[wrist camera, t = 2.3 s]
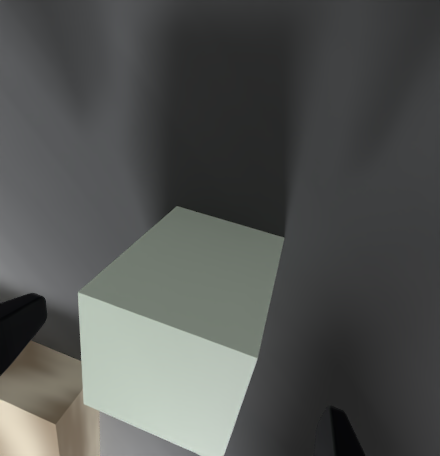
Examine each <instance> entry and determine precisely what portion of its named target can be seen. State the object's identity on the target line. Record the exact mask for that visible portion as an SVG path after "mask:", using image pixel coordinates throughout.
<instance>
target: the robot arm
mask: <svg viewBox="0 0 440 456" xmlns="http://www.w3.org/2000/svg"><path fill="white" fill-rule="evenodd" d="M46 319H47V308H46V300H45V298H44V297H43V296H40V295H38V294H35V293H30V294H27V295H24V296H21V297H17V298H14V299H11V300H8V301H5V302H2V303H0V376H1V375H2V374H3V373H4V372H5V371H6V370H7V369H8V368H9V366H10V365H11V364H12V363H13V362H14V361H15V359H16V358H17V357H18V356H19V354H20V353H21V352H22V351H23V349H24V348H25V347H26V346H27V344H28V343H29V342H30V341H31V339H32V338H33V337H34V336H35V334H36V333H37V332H38V330H39V329H40V328H41V327H42V325H43V324H44V323H45V321H46ZM314 456H365V454H364V451H363V449H362V447H361V445H360V443H359V441H358V439H357V437H356V434H355V432H354V430H353V428H352V426H351V424H350V422H349V420H348V418H347V415H346V414H345V412H344V411H343V410H341V409H338V408H335V407H333V406H328V407H327V408H326V410H325V412H324V413H323V415H322V417H321V419H320V420H319V422H318V425H317V430H316V438H315V448H314Z"/></svg>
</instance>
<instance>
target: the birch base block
mask: <svg viewBox="0 0 440 456" xmlns="http://www.w3.org/2000/svg"><path fill="white" fill-rule="evenodd" d="M0 456H100V430H99V411H98V410H96V409H94V408H92V407H89V406H87V405H85V404H84V402H83V382H82V363H81V361H79V360H77V359H75V358H72V357H70V356H67V355H65V354H62V353H60V352H58V351H55V350H53V349H50V348H48V347H45V346H43V345H41V344H38V343H36V342H33V341H30V342H29V343H28V344H27V346H26V347H25V348H24V349H23V351H22V352H21V353H20V354H19V356H18V357H17V358H16V359H15V361H14V362H13V363H12V364H11V365H10V366H9V368H8V369H7V370H6V371H5V372H4V373H3V374H2V375H1V376H0Z"/></svg>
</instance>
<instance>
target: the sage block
mask: <svg viewBox="0 0 440 456" xmlns="http://www.w3.org/2000/svg"><path fill="white" fill-rule="evenodd" d="M283 242H284V237H280V236H277V235H273V234H270V233H267V232H263V231H260V230H256V229H253V228H250V227H246V226H243V225H240V224H236V223H233V222H229V221H226V220H223V219H219V218H216V217H212V216H209V215H206V214H202V213H199V212H195V211H192V210H189V209H185V208H182V207H178V206H176V207H175V208H174V209H173V210H172V211H171V212H170V213H168V214H167V215H166V216H165V217H164V218H163V219H161V220H160V221H159V222H158V223H157V224H156V225H155V226H153V227H152V228H151V229H150V230H149V231H148V232H147V233H145V234H144V235H143V236H142V237H141V238H140V239H139V240H137V241H136V242H135V243H134V244H133V245H132V246H130V247H129V248H128V249H127V250H126V251H125V252H124V253H122V254H121V255H120V256H119V257H118V258H117V259H116V260H114V261H113V262H112V263H111V264H110V265H109V266H107V267H106V268H105V269H104V270H103V271H102V272H101V273H99V274H98V275H97V276H96V277H95V278H94V279H93V280H91V281H90V282H89V283H88V284H87V285H86V286H84V287H83V288H82V289H81V290H80V291H79V292H78V304H79V323H80V343H81V363H82V382H83V402H84V404H85V405H87V406H89V407H92V408H94V409H96V410H98V411H101V412H103V413H105V414H108V415H110V416H112V417H114V418H117V419H119V420H121V421H124V422H126V423H128V424H130V425H133V426H135V427H137V428H140V429H142V430H144V431H146V432H149V433H151V434H153V435H156V436H158V437H160V438H162V439H165V440H167V441H169V442H172V443H174V444H176V445H178V446H181V447H183V448H185V449H188V450H190V451H192V452H194V453H197V454H199V455H201V456H224V454H225V451H226V448H227V445H228V442H229V439H230V436H231V433H232V431H233V428H234V425H235V422H236V419H237V416H238V413H239V410H240V408H241V405H242V402H243V399H244V396H245V393H246V390H247V387H248V385H249V382H250V379H251V376H252V373H253V370H254V367H255V365H256V362H257V359H258V355H259V350H260V346H261V341H262V337H263V332H264V328H265V323H266V319H267V314H268V310H269V305H270V301H271V296H272V292H273V287H274V283H275V278H276V274H277V269H278V265H279V260H280V256H281V251H282V247H283Z"/></svg>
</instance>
